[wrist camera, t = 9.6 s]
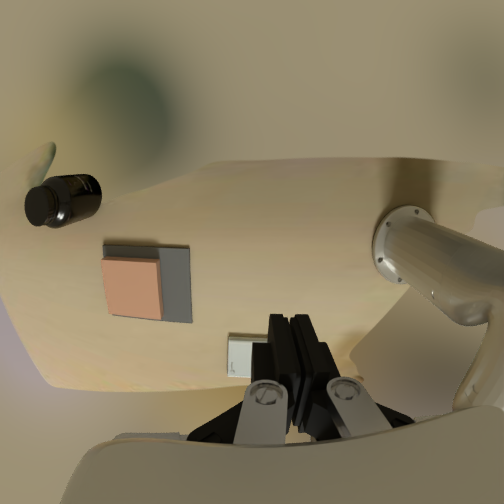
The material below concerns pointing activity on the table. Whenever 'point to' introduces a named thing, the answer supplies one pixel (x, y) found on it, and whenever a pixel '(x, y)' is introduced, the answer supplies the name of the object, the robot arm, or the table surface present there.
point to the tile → (133, 287)
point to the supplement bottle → (63, 200)
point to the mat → (165, 277)
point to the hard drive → (240, 355)
